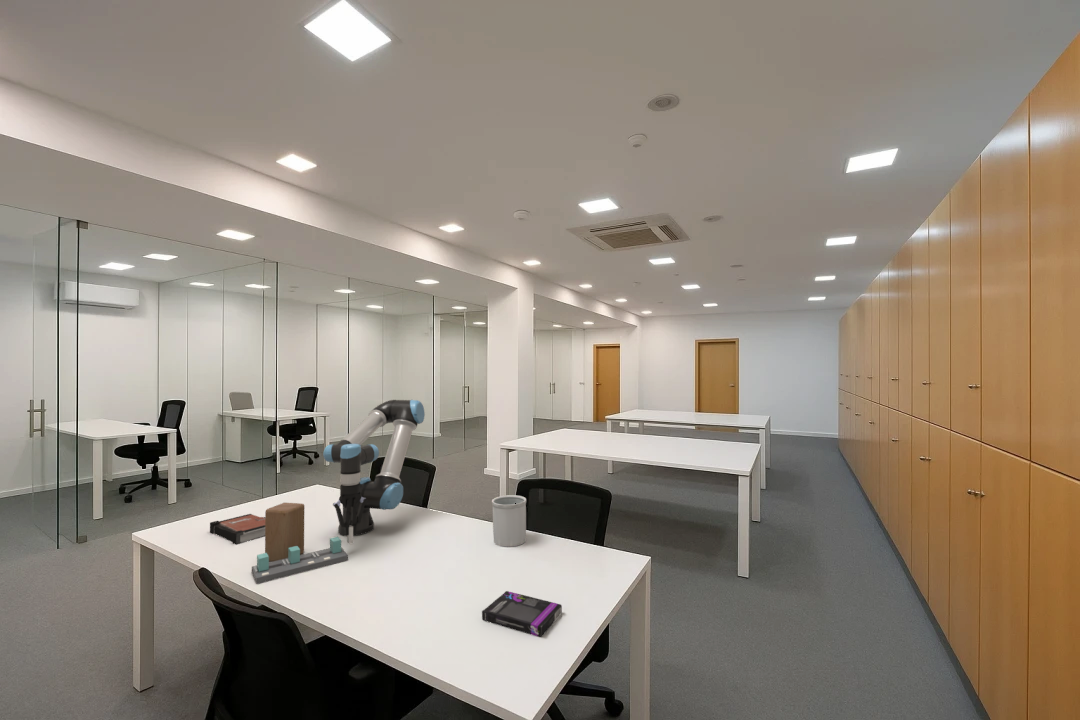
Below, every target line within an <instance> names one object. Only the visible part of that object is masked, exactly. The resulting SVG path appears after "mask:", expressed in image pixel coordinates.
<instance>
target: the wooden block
mask: <svg viewBox="0 0 1080 720" xmlns="http://www.w3.org/2000/svg"><path fill="white" fill-rule="evenodd" d="M264 517H265V537H264V553H267V554H268V556H269V562H273V561H277V560H281V559H286V558H288V548H290V547H294V546H298V547H299V549H300V555H302V554H305V504H304V503H299V502H297V503H296V502H282V503H280V504H276V505H274V506H271V507H269V508H267V509H266V510H265V515H264Z"/></svg>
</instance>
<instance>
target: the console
mask: <svg viewBox="0 0 1080 720" xmlns="http://www.w3.org/2000/svg"><path fill="white" fill-rule="evenodd" d="M347 561H349V554H348V553H347V552H346V551H345V549H344V548H343V547H342V546H341V552H337V553H332V552H331V551H330V547H328V548H322V549H320V550H317V551H316V550H315V551H312V552H308V553H303V554H301V555H300V562H297V563H293V564H291V563H290V562H289V560H288V558H286V559H281V560H277V561H273V562H271V561H269V569H268V570H264V571H260V572H259V571H258V569H257V564H256V565H252V566H251V574H252V577H253V579H254V581H255V583H256V585H258V584H262V583H266V582H269V581H274V580H278V579H281V578H285V577H289V576H293V575H297V574H301V573H304V572H308V571H311V570H313V571H314V570H316V569H320V568H324V567H328V566H331V565H335V564H339V563H342V562H347Z"/></svg>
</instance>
